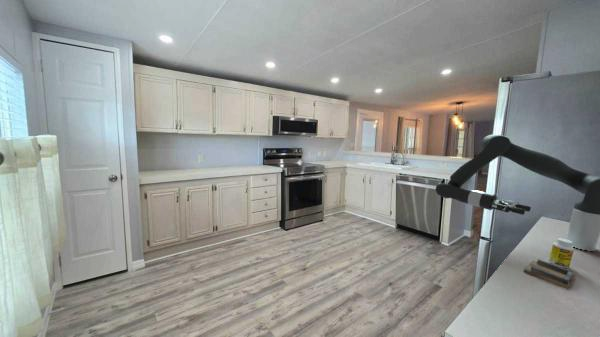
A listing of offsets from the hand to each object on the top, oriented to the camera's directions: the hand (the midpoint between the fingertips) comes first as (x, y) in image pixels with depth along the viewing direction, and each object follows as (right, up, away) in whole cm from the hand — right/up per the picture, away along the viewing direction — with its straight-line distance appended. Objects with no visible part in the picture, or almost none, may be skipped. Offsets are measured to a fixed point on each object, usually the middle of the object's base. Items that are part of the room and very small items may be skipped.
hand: (527, 210), depth 100 cm
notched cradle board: (-6, -21, -14) cm, 26 cm away
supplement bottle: (+6, -20, -6) cm, 22 cm away
